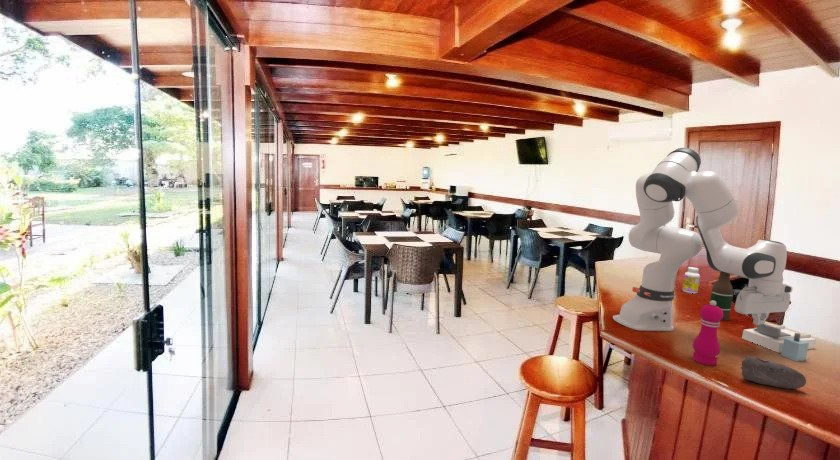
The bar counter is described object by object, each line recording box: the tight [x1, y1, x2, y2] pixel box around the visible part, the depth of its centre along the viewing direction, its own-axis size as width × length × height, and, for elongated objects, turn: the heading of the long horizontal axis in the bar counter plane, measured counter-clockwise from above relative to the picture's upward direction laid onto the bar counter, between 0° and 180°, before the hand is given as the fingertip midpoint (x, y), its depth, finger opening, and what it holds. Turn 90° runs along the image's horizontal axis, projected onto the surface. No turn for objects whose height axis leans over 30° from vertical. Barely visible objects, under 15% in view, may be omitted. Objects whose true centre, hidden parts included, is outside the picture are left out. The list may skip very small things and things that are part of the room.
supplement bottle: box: [682, 266, 701, 294], centre depth 212 cm, size 7×7×13 cm
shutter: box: [756, 323, 791, 338], centre depth 147 cm, size 7×7×3 cm
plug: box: [781, 332, 809, 362], centre depth 136 cm, size 4×4×8 cm
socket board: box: [741, 325, 817, 353], centre depth 148 cm, size 18×12×4 cm, turn 106°
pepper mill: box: [692, 300, 723, 366], centre depth 129 cm, size 7×7×20 cm
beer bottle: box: [708, 271, 734, 321], centre depth 173 cm, size 8×8×24 cm
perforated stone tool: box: [740, 355, 807, 390], centre depth 116 cm, size 15×5×7 cm, turn 63°
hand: (758, 324), depth 143 cm, fingers closed
